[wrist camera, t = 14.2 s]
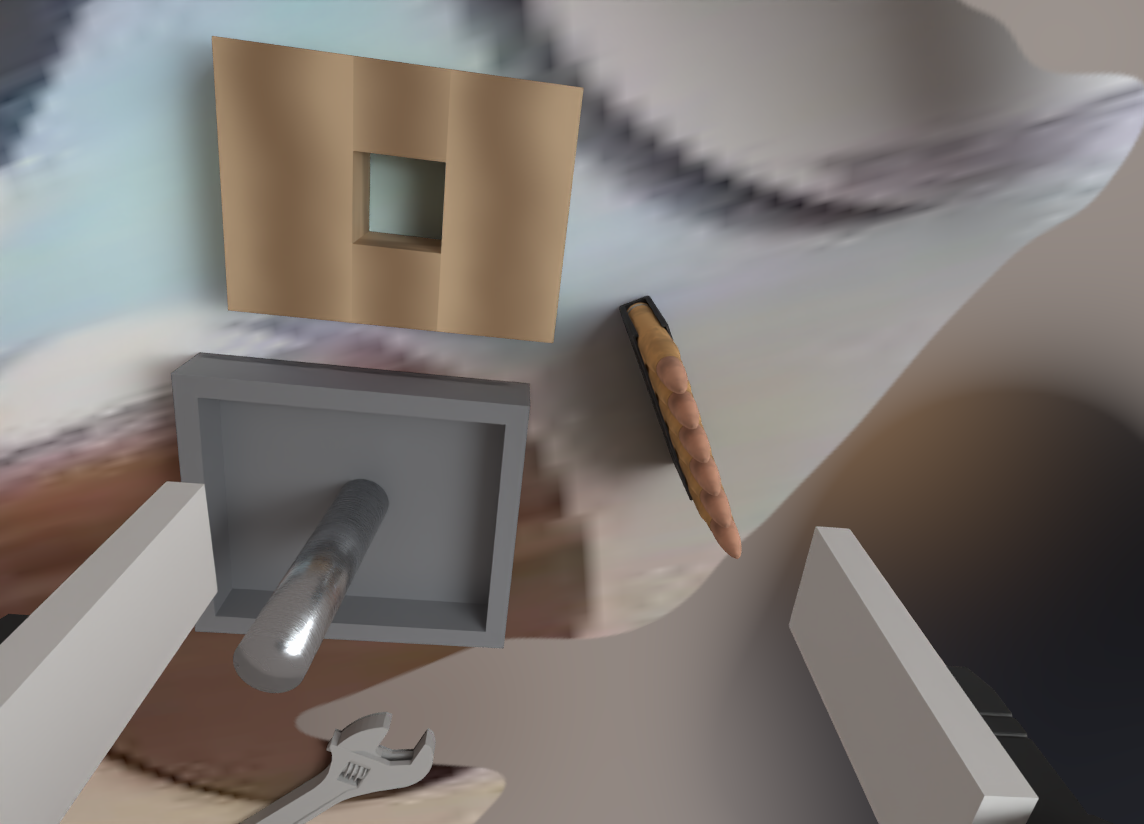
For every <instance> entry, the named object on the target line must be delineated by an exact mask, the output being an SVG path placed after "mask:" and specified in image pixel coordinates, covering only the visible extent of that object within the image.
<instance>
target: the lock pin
mask: <svg viewBox="0 0 1144 824" xmlns="http://www.w3.org/2000/svg"><path fill="white" fill-rule="evenodd" d="M388 507H389V500H388V497H387V494H386V493H385V491H384V490H383V489H382V488H381V487H380V486H379V485H378V484H376V483H374V482H372V481H369V480H365V479H357V480H353V481H350V482H348V483H347V484H346V485H344V486H343V488H342V489H341V491H340V492H339V494H338V495H337V497H336V498H335V500H334V501H333V503H332V504H331V506H330V507H329V509H328V510H327V512H326V513H325V515H324V516H323V518H322V519H321V521H320V523H319V524H318V526H317V527H316V529H315V530H314V532H313V533H312V535H311V536H310V538H309V539H308V541H307V542H306V544H305V545H304V547H303V548H302V550H301V551H300V553H299V554H298V556H297V557H296V559H295V560H294V562H293V563H292V565H291V567H290V568H289V570H288V571H287V573H286V574H285V576H284V577H283V579H282V580H281V582H280V583H279V585H278V586H277V588H276V589H275V591H274V592H273V594H272V595H271V597H270V598H269V600H268V601H267V603H266V604H265V606H264V607H263V609H262V611H261V612H260V614H259V615H258V617H257V618H256V620H255V621H254V623H253V624H252V626H251V627H250V629H249V630H248V632H247V633H246V635H245V636H244V638H243V639H242V641H241V642H240V644H239V645H238V647H237V649H236V650H235V653H234V656H233V663H234V667H235V670H236V672H237V673H238V675H239V676H240V678H241V679H242V680H243V681H244V682H246V683H247V684H248V685H250V686H251V687H253V688H255V689H258V690H260V691H264V692H269V693H281V692H286V691H289V690H292V689H294V688H295V687H297V686H298V685H299V684H300V683H301V682H302V680H303V678H304V676H305V674H306V672H307V670H308V668H309V666H310V664H311V662H312V660H313V658H314V656H315V654H316V652H317V650H318V648H319V646H320V644H321V642H322V640H323V638H324V636H325V634H326V632H327V630H328V628H329V626H330V624H331V622H332V620H333V618H334V616H335V614H336V612H337V610H338V608H339V607H340V605H341V603H342V601H343V599H344V597H345V595H346V593H347V591H348V589H349V587H350V585H351V583H352V581H353V579H354V577H355V575H356V573H357V571H358V569H359V567H360V565H361V563H362V561H363V559H364V557H365V555H366V553H367V551H368V549H369V547H370V545H371V543H372V541H373V539H374V537H375V535H376V533H377V531H378V529H379V527H380V525H381V523H382V521H383V519H384V517H385V515H386V513H387V511H388Z"/></svg>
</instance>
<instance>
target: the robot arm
mask: <svg viewBox="0 0 1144 824" xmlns="http://www.w3.org/2000/svg"><path fill="white" fill-rule="evenodd" d="M217 592H218V590H217V582H216V574H215V566H214V557H213V549H212V541H211V533H210V525H209V517H208V509H207V501H206V493H205V485H204V484H198V483H184V482H169V481H166V482H165V483H164V484H163V485H162V486H161V487H160V488H159V489H158V490H157V491H156V492H155V493H154V494H153V495H152V496H151V497H150V498H149V499H148V500H147V501H146V502H145V503H144V504H143V505H142V506H141V507H140V508H139V509H138V510H137V511H136V512H135V513H134V514H133V515H132V516H131V517H130V518H129V519H128V520H127V521H126V522H125V523H124V524H123V525H122V526H121V527H120V528H119V529H118V530H117V531H116V532H114V533H113V534H112V535H111V536H110V537H109V538H108V539H107V540H106V541H105V542H104V543H103V544H102V545H101V546H100V547H99V548H98V549H97V550H96V551H95V552H94V553H93V554H92V555H91V556H90V557H89V558H88V559H87V560H86V561H85V562H84V563H83V564H82V565H81V566H80V567H79V568H78V569H77V570H76V571H75V572H74V573H73V574H72V575H71V576H70V577H69V578H68V579H67V580H66V581H65V582H64V583H63V584H62V585H61V586H60V587H58V588H57V589H56V590H55V591H54V592H53V593H52V594H51V595H50V596H49V597H48V598H47V599H46V600H45V601H44V602H43V603H42V604H41V605H40V606H39V607H38V608H37V609H36V610H35V611H34V612H33V613H32V614H31V615H16V614H8V615H6V616H4V617H3V618H1V619H0V824H59V823H60V821H61V820H62V818H63V817H64V815H65V814H66V813H67V811H68V810H69V808H70V807H71V805H72V804H73V802H74V801H75V799H76V798H77V796H78V795H79V794H80V792H81V791H82V789H83V788H84V786H85V785H86V783H87V782H88V780H89V779H90V777H91V776H92V775H93V773H94V772H95V770H96V769H97V767H98V766H99V764H100V763H101V761H102V760H103V758H104V757H105V756H106V754H107V753H108V751H109V750H110V748H111V747H112V745H113V744H114V742H115V741H116V739H117V738H118V736H119V735H120V734H121V732H122V731H123V729H124V728H125V726H126V725H127V723H128V722H129V720H130V719H131V717H132V716H133V715H134V713H135V712H136V710H137V709H138V707H139V706H140V704H141V703H142V701H143V700H144V698H145V697H146V696H147V694H148V693H149V691H150V690H151V688H152V687H153V685H154V684H155V682H156V681H157V679H158V678H159V677H160V675H161V674H162V672H163V671H164V669H165V668H166V666H167V665H168V663H169V662H170V660H171V659H172V657H173V656H174V655H175V653H176V652H177V650H178V649H179V647H180V646H181V644H182V643H183V641H184V640H185V638H186V637H187V636H188V634H189V633H190V631H191V630H192V628H193V627H194V625H195V624H196V622H197V621H198V619H199V618H200V617H201V615H202V614H203V612H204V611H205V609H206V608H207V606H208V605H209V603H210V602H211V600H212V599H213V598H214V596H215V595H216V593H217ZM789 627H790V630H791V632H792V634H793V636H794V638H795V641H796V643H797V645H798V647H799V649H800V652H801V654H802V656H803V658H804V660H805V663H806V665H807V667H808V669H809V671H810V673H811V676H812V678H813V680H814V682H815V685H816V687H817V689H818V691H819V693H820V695H821V698H822V700H823V702H824V704H825V706H826V709H827V711H828V713H829V715H830V717H831V720H832V722H833V724H834V726H835V728H836V731H837V733H838V735H839V737H840V739H841V742H842V744H843V746H844V748H845V750H846V753H847V755H848V757H849V759H850V761H851V764H852V766H853V768H854V770H855V772H856V774H857V777H858V779H859V781H860V783H861V786H862V788H863V790H864V792H865V794H866V796H867V799H868V801H869V803H870V805H871V807H872V809H873V812H874V814H875V816H876V818H877V821H878V823H879V824H1113V823H1110V822H1108V821H1106V820H1104V819H1101V818H1098V817H1096V816H1094V815H1088V814H1087V812H1086V811H1085V810H1084V809H1083V807H1082V806H1081V804H1080V803H1079V802H1078V800H1077V799H1076V798H1075V796H1074V795H1073V794H1072V792H1071V791H1070V790H1069V789H1068V787H1067V786H1066V785H1065V783H1064V782H1063V781H1062V779H1061V778H1060V777H1059V775H1058V774H1057V773H1056V771H1055V770H1054V769H1053V767H1052V766H1051V765H1050V763H1049V762H1048V761H1047V759H1046V758H1045V757H1044V755H1043V754H1042V753H1041V752H1040V750H1039V749H1038V747H1037V746H1036V745H1035V744H1034V742H1033V741H1032V740H1031V739H1028V738H1027V733H1026V732H1025V730H1024V729H1023V728H1022V726H1021V725H1020V724H1019V723H1018V721H1017V720H1016V718H1012V713H1011V712H1010V711H1009V709H1008V708H1007V706H1005V704H1004V703H1003V701H1002V700H1001V699H1000V697H999V696H998V695H997V693H996V692H995V691H994V689H993V688H991V687H990V686H989V685H988V684H987V683H985V682H984V681H983V680H982V679H980V678H979V677H978V676H977V675H976V674H974V673H973V672H972V671H970V670H969V669H968V668H967V667H956V666H946V665H945V664H944V662H943V661H942V660H941V658H940V657H939V655H938V654H937V653H936V651H935V650H934V648H933V647H932V645H931V644H930V643H929V641H928V640H927V638H926V637H925V636H924V634H923V633H922V631H921V630H920V628H919V627H918V625H917V624H916V623H915V621H914V620H913V618H912V617H911V616H910V614H909V613H908V611H907V610H906V608H905V607H904V606H903V604H902V603H901V601H900V600H899V598H898V597H897V596H896V594H895V593H894V591H893V590H892V588H891V587H890V586H889V584H888V583H887V581H886V580H885V579H884V577H883V576H882V574H881V573H880V572H879V570H878V569H877V567H876V566H875V564H874V563H873V561H872V560H871V559H870V557H869V556H868V554H867V553H866V551H865V550H864V549H863V547H862V546H861V544H860V543H859V542H858V540H857V539H856V537H855V536H854V534H853V533H852V532H851V530H850V529H845V528H831V527H816V528H815V531H814V535H813V539H812V543H811V546H810V550H809V554H808V557H807V561H806V564H805V568H804V572H803V575H802V579H801V583H800V587H799V590H798V594H797V597H796V601H795V605H794V609H793V612H792V616H791V620H790V623H789Z"/></svg>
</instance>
